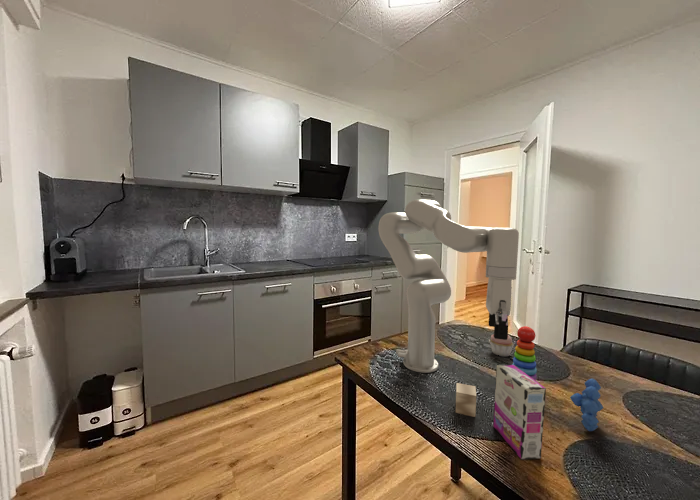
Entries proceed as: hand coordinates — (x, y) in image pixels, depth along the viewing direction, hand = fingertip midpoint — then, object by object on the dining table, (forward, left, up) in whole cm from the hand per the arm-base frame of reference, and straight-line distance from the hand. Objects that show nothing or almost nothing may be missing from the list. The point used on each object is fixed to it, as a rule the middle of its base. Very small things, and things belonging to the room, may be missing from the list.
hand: (497, 332), depth 82 cm
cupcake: (+6, +38, -22) cm, 44 cm away
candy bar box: (+3, -14, -22) cm, 26 cm away
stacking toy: (+10, +16, -22) cm, 29 cm away
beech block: (-8, -6, -21) cm, 23 cm away
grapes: (+21, -1, -22) cm, 30 cm away
